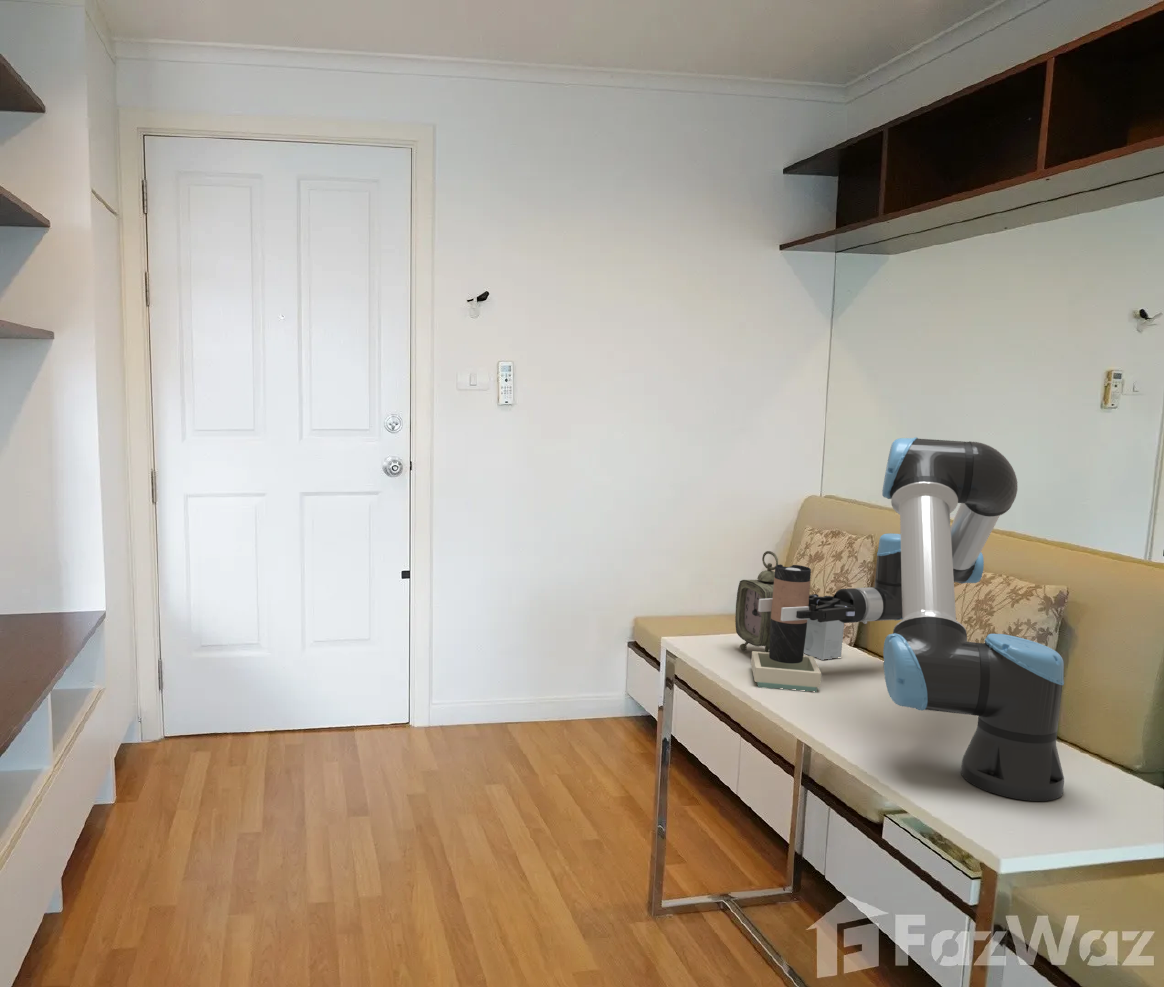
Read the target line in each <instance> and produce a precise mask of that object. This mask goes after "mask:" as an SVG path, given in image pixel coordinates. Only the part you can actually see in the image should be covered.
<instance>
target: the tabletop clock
mask: <svg viewBox="0 0 1164 987" xmlns="http://www.w3.org/2000/svg"><path fill="white" fill-rule="evenodd" d="M767 555H771V556H772V557H774V560H775V566H776V565H779V557H778V556H777V554H776V553H775V552H773V551H770V550H766V551H765V552H764V553H763V554H762V559H761V560H762V565H763V566H764V567H765V568H766V570H763V571H761V572H760V573H758V576H757V578H756V579H742V580H739V584H738V586H737V587H738V588H737V593H736V601H735V615H734V616H735V617H734V618H735V620H734V622H735V632H736V634H737V636H738V637H740V638H741V639H742V640H743V641H744V642H745V643H741V644H740V645H739V649H740V650H741V651H747V647H748V646H747V645H748V644H749V645H752V646H753V647H754V646H755V647H764V652H769V647H770V626H771V611H769V612H759V611H758V606H759V599H768V598H773V588H774V577H775V566H774V567H773V564H772V563H771V562H768V563H766V562H765V557H766V556H767Z"/></svg>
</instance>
